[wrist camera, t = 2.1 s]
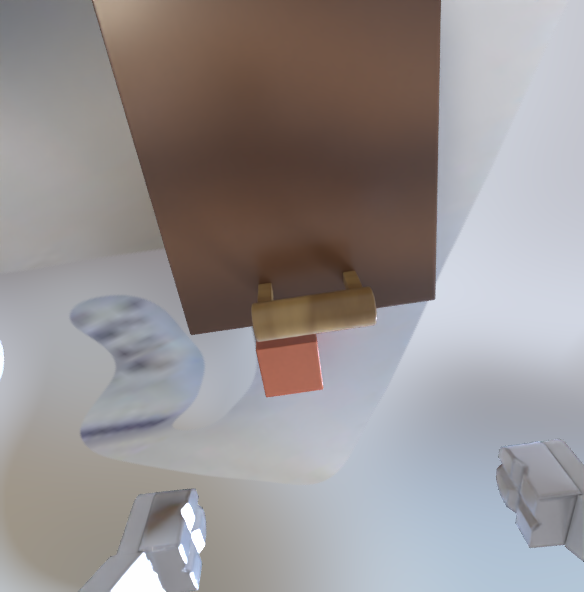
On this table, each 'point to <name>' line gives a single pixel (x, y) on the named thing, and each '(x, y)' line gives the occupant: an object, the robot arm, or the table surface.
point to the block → (290, 365)
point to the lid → (285, 153)
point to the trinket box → (1, 359)
